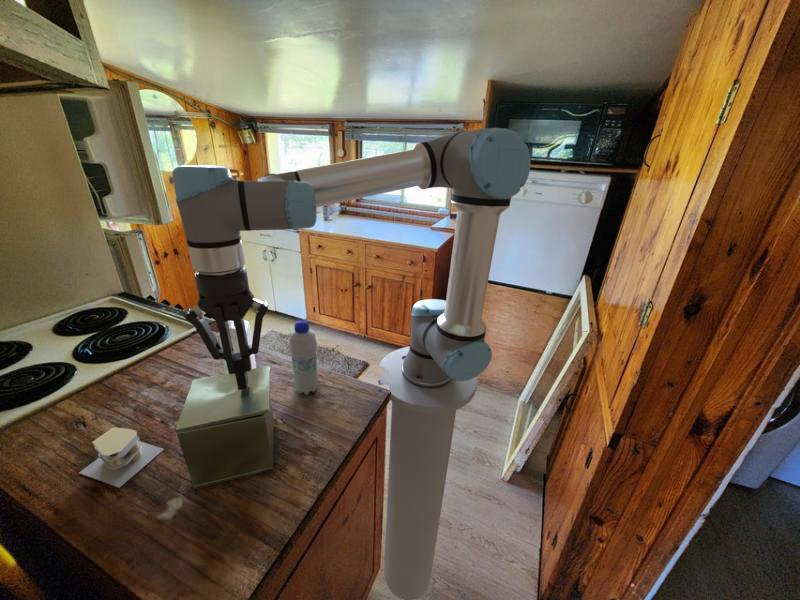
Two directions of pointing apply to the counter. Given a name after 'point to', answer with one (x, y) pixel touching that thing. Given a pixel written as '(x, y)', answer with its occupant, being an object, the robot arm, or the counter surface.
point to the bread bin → (229, 449)
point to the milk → (235, 343)
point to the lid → (225, 399)
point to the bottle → (304, 358)
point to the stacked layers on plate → (119, 456)
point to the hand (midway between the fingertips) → (243, 384)
